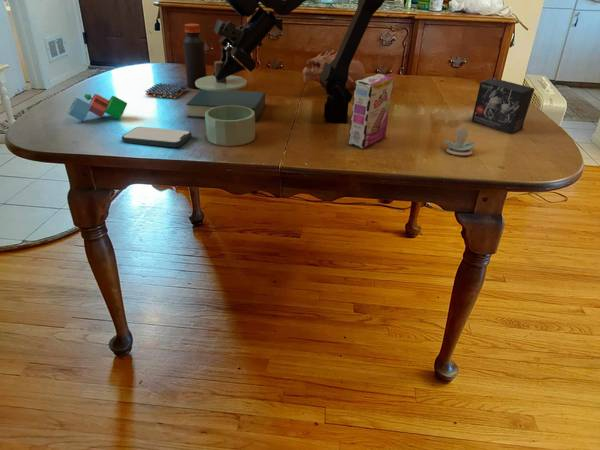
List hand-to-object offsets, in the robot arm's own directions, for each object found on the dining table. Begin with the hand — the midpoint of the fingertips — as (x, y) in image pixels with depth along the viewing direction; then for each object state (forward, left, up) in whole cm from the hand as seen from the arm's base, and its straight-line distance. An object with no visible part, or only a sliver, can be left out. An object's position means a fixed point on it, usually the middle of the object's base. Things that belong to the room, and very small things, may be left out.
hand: (215, 77), depth 120 cm
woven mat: (+25, -27, -14) cm, 39 cm away
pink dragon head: (-30, -41, -14) cm, 52 cm away
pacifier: (-64, +6, -14) cm, 66 cm away
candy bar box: (-41, +3, -14) cm, 43 cm away
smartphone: (+13, +12, -14) cm, 22 cm away
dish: (-5, +7, -13) cm, 16 cm away
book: (+1, -14, -13) cm, 19 cm away
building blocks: (+34, +1, -14) cm, 37 cm away
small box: (-79, -17, -14) cm, 82 cm away
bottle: (+18, -38, -14) cm, 44 cm away
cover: (-1, -1, -2) cm, 2 cm away
